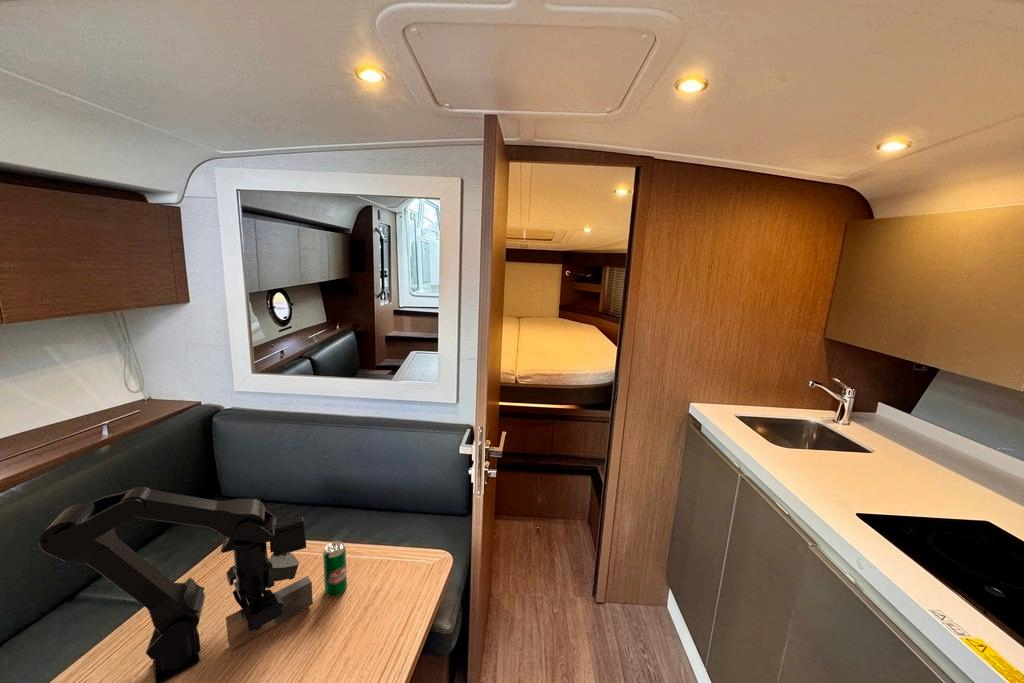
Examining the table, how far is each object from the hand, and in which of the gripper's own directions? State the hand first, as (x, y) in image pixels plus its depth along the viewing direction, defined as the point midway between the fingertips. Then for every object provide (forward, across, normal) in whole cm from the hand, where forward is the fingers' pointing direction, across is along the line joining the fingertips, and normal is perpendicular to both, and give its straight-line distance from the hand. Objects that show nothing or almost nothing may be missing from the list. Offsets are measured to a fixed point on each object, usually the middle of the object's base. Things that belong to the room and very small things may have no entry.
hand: (256, 624), depth 83 cm
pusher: (+2, 0, -3) cm, 3 cm away
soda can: (+2, 0, -17) cm, 17 cm away
